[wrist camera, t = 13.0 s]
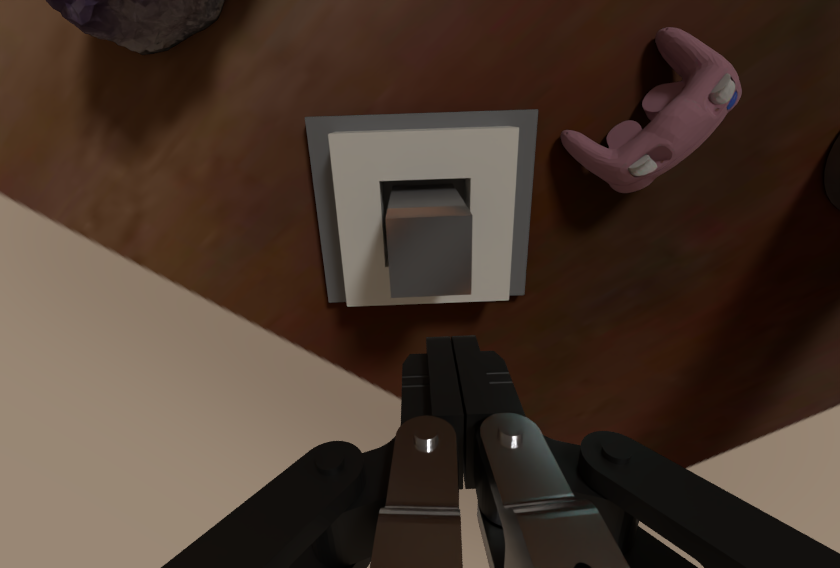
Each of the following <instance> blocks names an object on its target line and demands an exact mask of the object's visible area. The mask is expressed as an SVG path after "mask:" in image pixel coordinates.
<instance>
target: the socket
mask: <svg viewBox="0 0 840 568" xmlns="http://www.w3.org/2000/svg"><path fill="white" fill-rule="evenodd" d="M537 119H538V109H537V110H505V111H475V112H445V113H414V114H384V115H353V116H323V117H305V123H306V131H307V138H308V146H309V154H310V162H311V169H312V177H313V185H314V193H315V200H316V208H317V216H318V224H319V231H320V239H321V247H322V254H323V262H324V270H325V278H326V285H327V293H328V301H329V303H331V302H347V307H353V306H378V305H404V304H429V303H455V302H480V301H506V300H509V296H511V295H524V291H525V278H526V265H527V251H528V238H529V225H530V212H531V198H532V185H533V172H534V158H535V145H536V132H537ZM429 184H453V185H454V187H455V188H456V190H457V191H458V193H459V195H460V196H461V198H462V199H463V201H464V203H465V204H466V206H467V207H468V209H469V210H470V212H471V214H472V215H473V216H472V286H471V295H449V296H427V297H404V298H391V291H390V277H389V262H388V248H387V233H386V214H387V209H388V205H389V200H390V195H391V190H392V186H404V185H429Z"/></svg>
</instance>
